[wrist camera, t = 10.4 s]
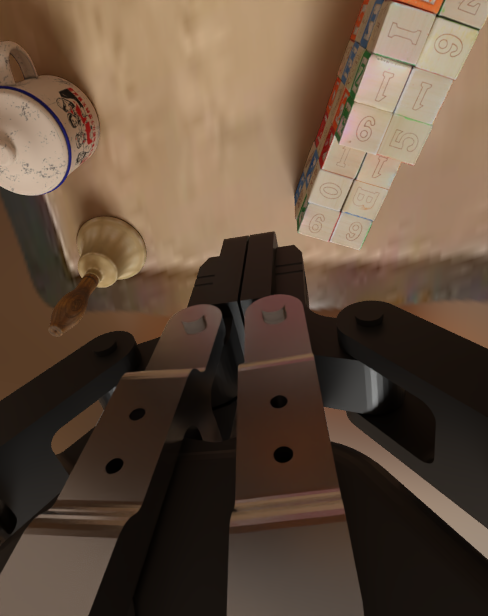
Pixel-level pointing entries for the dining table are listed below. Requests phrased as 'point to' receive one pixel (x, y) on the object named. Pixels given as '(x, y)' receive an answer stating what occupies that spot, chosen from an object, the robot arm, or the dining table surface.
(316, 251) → the dining table surface
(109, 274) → the hand bell
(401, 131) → the stack of blocks
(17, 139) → the teacup with lid
